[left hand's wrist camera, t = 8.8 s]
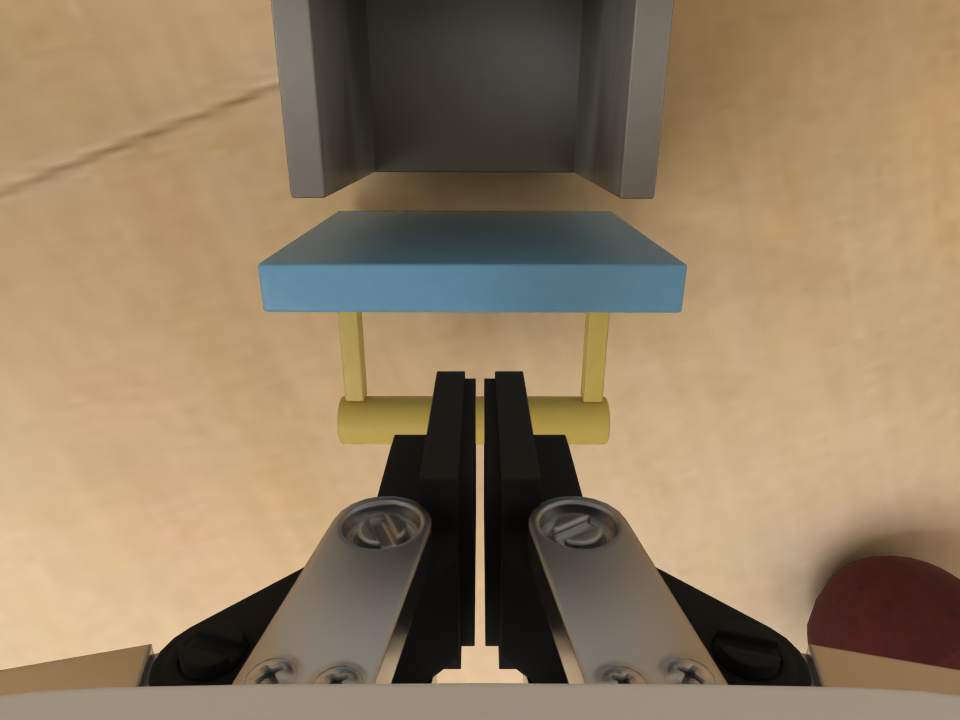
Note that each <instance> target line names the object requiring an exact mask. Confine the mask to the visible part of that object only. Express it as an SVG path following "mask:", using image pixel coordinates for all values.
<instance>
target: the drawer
mask: <svg viewBox="0 0 960 720" xmlns="http://www.w3.org/2000/svg"><path fill="white" fill-rule="evenodd" d="M673 2H674V0H271V7H272V16H273V26H274V36H275V45H276V55H277V65H278V74H279V84H280V94H281V104H282V113H283V123H284V133H285V142H286V152H287V162H288V171H289V181H290V191H291V196H292V197H293V198H324V197H326V196H328V195H330V194H332V193H334V192H336V191H338V190H340V189H342V188H344V187H346V186H348V185H350V184H352V183H354V182H356V181H358V180H360V179H362V178H364V177H366V176H368V175H370V174H371V173H373V172H575V173H577V174H578V175H580V176H582V177H584V178H586V179H587V180H589V181H591V182H593V183H594V184H596V185H598V186H600V187H602V188H603V189H605V190H607V191H609V192H611V193H612V194H614V195H616V196H618V197H620V198H622V199H652V198H653V197H654V193H655V183H656V173H657V163H658V153H659V143H660V133H661V123H662V113H663V103H664V93H665V83H666V73H667V63H668V53H669V43H670V32H671V22H672V12H673ZM258 268H259V276H260V284H261V292H262V300H263V308H264V311H267V312H338V316H339V328H340V340H341V352H342V365H343V377H344V389H345V396H344V397H342V398H341V400H340V403H339V408H338V420H337V425H338V435H339V439H340V442H341V443H342V444H392V442H393V438H394V436H395V435H426V434H427V428H428V422H429V417H430V411H431V405H432V399H433V396H366V395H367V385H366V371H365V356H364V341H363V327H362V312H586V321H585V336H584V351H583V366H582V381H581V396H582V397H537V396H527V399H528V405H529V411H530V417H531V422H532V428H533V434H534V435H565V436H566V438H567V442H568V444H606V443H607V441H608V438H609V432H610V412H609V405H608V402H607V399H606V398H605V397H603V386H604V374H605V361H606V349H607V336H608V324H609V312H662V313H678V312H681V310H682V302H683V294H684V285H685V277H686V269H687V266H686V264H684V263H683V262H681V261H680V260H679V259H677V258H676V257H674V256H673V255H671V254H670V253H669V252H667V251H666V250H664V249H663V248H662V247H660V246H659V245H657V244H656V243H654V242H653V241H652V240H650V239H649V238H647V237H646V236H644V235H643V234H642V233H640V232H639V231H637V230H636V229H634V228H633V227H632V226H630V225H629V224H627V223H626V222H625V221H623V220H622V219H620V218H619V217H617V216H616V215H615V214H613V213H612V212H540V211H339V212H337V213H335V214H334V215H332V216H331V217H329V218H328V219H326V220H325V221H323V222H322V223H320V224H319V225H317V226H316V227H314V228H313V229H311V230H310V231H308V232H307V233H305V234H304V235H302V236H300V237H299V238H297V239H296V240H294V241H293V242H291V243H290V244H288V245H287V246H285V247H284V248H282V249H281V250H279V251H278V252H276V253H275V254H273V255H272V256H270V257H269V258H267V259H266V260H264V261H263V262H261V263H260V264H259V265H258ZM476 444H484V396H476Z"/></svg>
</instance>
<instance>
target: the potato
mask: <svg viewBox="0 0 960 720" xmlns="http://www.w3.org/2000/svg"><path fill="white" fill-rule="evenodd" d="M807 637H808V644H811V645H816V646H822V647H828V648H834V649H840V650H845V651H851V652H857V653H863V654H868V655H874V656H880V657H886V658H891V659H897V660H903V661H909V662H915V663H920V664H926V665H932V666H938V667H943V668H949V669H955V670H960V579H958V578H957V577H955V576H953V575H952V574H950V573H948V572H947V571H945V570H943V569H942V568H939V567H937V566H935V565H932V564H930V563H927V562H924V561H920V560H916V559H912V558H907V557H898V556H880V557H870V558H866V559H862V560H858V561H855V562H852V563H851V564H849V565H848V566H846V567H845V568H843V569H842V570H840V571H839V572H837V573H836V574H834V575H833V576H832V578H831V579H830V580H829V582H828V583H827V585H826V586H825V588H824V589H823V590H822V592H821V593H820V595H819V596H818V597H817V599H816V602H815V605H814V607H813V610H812V613H811V616H810V619H809V621H808V624H807Z"/></svg>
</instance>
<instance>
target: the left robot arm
mask: <svg viewBox="0 0 960 720" xmlns="http://www.w3.org/2000/svg"><path fill="white" fill-rule="evenodd" d="M475 553H476V379H465V371H437V376H436V381H435V387H434V393H433V399H432V405H431V411H430V417H429V422H428V428H427V434H426V435H395V436H394V438H393V442H392V445H391V449H390V453H389V456H388V460H387V464H386V467H385V471H384V475H383V478H382V482H381V486H380V489H379V493H378V497H374V498H369V499H365V500H362V501H359V502H357V503H354V504H352V505H350V506H349V507H347V508H346V509H344V510H342V511H341V512H340V513H339V514H338V516H337V517H336V518H335V519H334V520H333V522H332V524H331V525H330V527H329V528H328V530H327V532H326V533H325V535H324V536H323V538H322V540H321V541H320V543H319V545H318V546H317V548H316V549H315V551H314V553H313V554H312V556H311V557H310V559H309V561H308V562H307V564H306V566H305V567H304V568H302V569H300V570H298V571H296V572H294V573H293V574H291V575H289V576H287V577H285V578H283V579H281V580H279V581H277V582H276V583H274V584H272V585H270V586H268V587H266V588H264V589H262V590H260V591H258V592H257V593H255V594H253V595H251V596H249V597H247V598H245V599H243V600H241V601H240V602H238V603H236V604H234V605H232V606H230V607H228V608H226V609H224V610H223V611H221V612H219V613H217V614H215V615H213V616H211V617H209V618H207V619H205V620H204V621H202V622H200V623H198V624H196V625H194V626H192V627H190V628H189V629H187V630H186V631H184V632H183V633H181V634H180V635H178V636H177V637H175V638H174V639H173V640H172V641H171V642H170V643H169V644H168V645H167V646H166V647H165V648H164V649H162V650H161V651H160V653H157V654H154V653H153V649H152V644H149V645H144V646H138V647H132V648H126V649H120V650H115V651H109V652H103V653H97V654H92V655H86V656H80V657H74V658H69V659H63V660H57V661H51V662H45V663H40V664H34V665H28V666H22V667H17V668H11V669H5V670H0V720H960V670H955V669H949V668H943V667H938V666H932V665H926V664H920V663H915V662H909V661H903V660H897V659H891V658H886V657H880V656H874V655H868V654H863V653H857V652H851V651H845V650H840V649H834V648H828V647H822V646H816V645H811V644H808V649H807V653H806V654H803V653H800V651H799V650H797V649H796V648H795V647H794V646H793V645H792V644H791V643H790V642H789V641H788V640H787V639H786V638H785V637H783V636H782V635H780V634H779V633H777V632H776V631H774V630H773V629H771V628H770V627H768V626H766V625H764V624H762V623H760V622H758V621H756V620H755V619H753V618H751V617H749V616H747V615H745V614H743V613H741V612H739V611H737V610H736V609H734V608H732V607H730V606H728V605H726V604H724V603H722V602H720V601H719V600H717V599H715V598H713V597H711V596H709V595H707V594H705V593H703V592H702V591H700V590H698V589H696V588H694V587H692V586H690V585H688V584H686V583H684V582H683V581H681V580H679V579H677V578H675V577H673V576H671V575H669V574H667V573H666V572H664V571H662V570H660V569H658V568H656V567H655V566H654V564H653V562H652V561H651V559H650V557H649V556H648V554H647V553H646V551H645V549H644V548H643V546H642V545H641V543H640V541H639V540H638V538H637V536H636V535H635V533H634V532H633V530H632V528H631V527H630V525H629V524H628V522H627V520H626V519H625V518H624V517H623V516H622V514H621V513H620V512H619V511H618V510H616V509H614V508H613V507H611V506H610V505H608V504H606V503H603V502H601V501H598V500H595V499H591V498H586V497H582V493H581V489H580V486H579V482H578V478H577V475H576V471H575V467H574V464H573V460H572V456H571V453H570V449H569V445H568V442H567V438H566V436H565V435H534V434H533V428H532V422H531V417H530V411H529V405H528V399H527V393H526V387H525V381H524V376H523V371H495V379H484V553H485V645H486V646H499V669H517V670H518V671H520V672H521V673H522V674H523V684H511V683H449V684H437V674H438V673H439V672H440V671H442V670H443V669H461V646H474V645H475Z"/></svg>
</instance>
